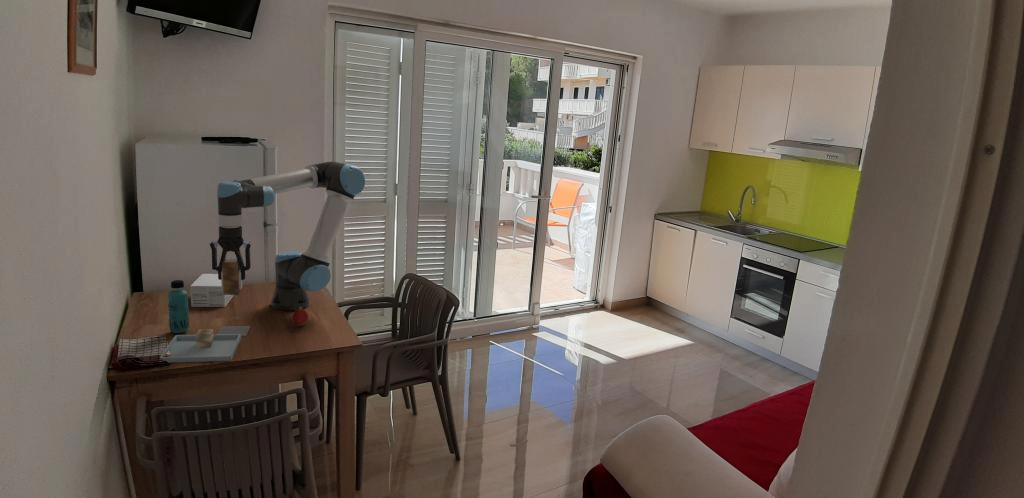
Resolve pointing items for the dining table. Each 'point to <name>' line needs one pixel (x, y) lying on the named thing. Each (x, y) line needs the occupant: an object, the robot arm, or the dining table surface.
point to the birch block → (205, 338)
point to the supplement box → (208, 292)
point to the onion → (300, 317)
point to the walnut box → (231, 277)
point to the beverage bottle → (178, 308)
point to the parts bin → (202, 349)
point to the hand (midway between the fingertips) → (232, 287)
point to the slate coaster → (234, 330)
